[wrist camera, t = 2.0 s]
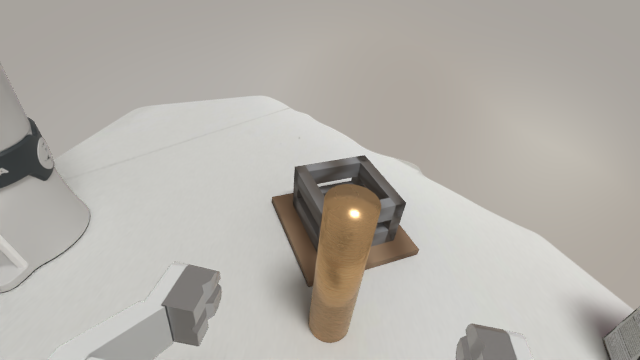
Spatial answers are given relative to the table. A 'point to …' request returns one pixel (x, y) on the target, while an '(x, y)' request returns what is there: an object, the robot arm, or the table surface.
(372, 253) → the collar stand
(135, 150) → the table surface
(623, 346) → the candy bar box
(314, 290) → the copper tube
